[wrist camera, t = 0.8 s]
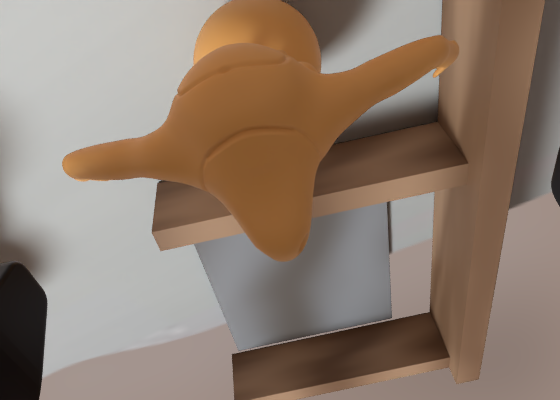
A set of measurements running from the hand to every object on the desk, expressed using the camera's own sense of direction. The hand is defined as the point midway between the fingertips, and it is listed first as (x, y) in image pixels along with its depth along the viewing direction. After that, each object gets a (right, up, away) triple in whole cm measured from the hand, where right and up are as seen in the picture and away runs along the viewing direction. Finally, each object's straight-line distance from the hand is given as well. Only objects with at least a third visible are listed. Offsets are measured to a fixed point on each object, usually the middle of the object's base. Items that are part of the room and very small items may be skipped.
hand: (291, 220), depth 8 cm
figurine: (-1, +7, +8) cm, 11 cm away
